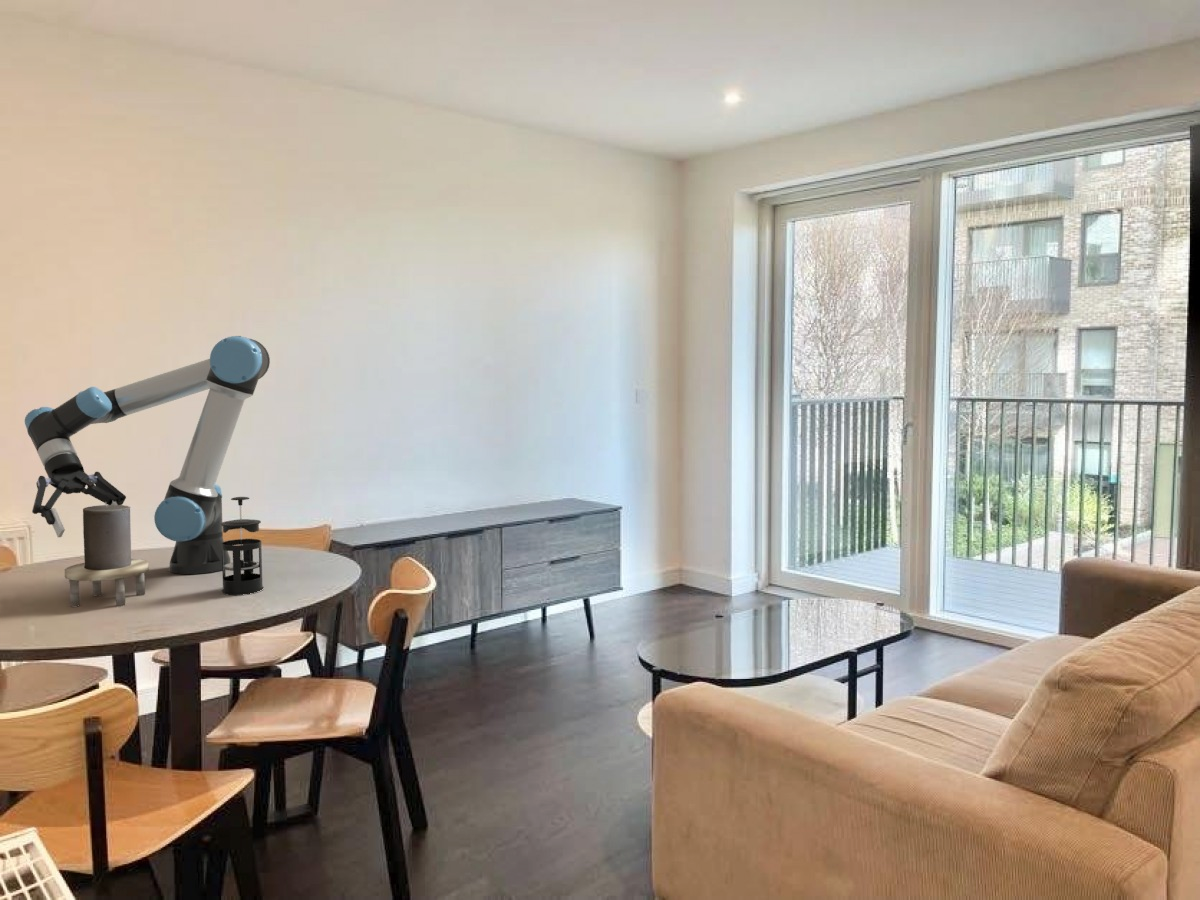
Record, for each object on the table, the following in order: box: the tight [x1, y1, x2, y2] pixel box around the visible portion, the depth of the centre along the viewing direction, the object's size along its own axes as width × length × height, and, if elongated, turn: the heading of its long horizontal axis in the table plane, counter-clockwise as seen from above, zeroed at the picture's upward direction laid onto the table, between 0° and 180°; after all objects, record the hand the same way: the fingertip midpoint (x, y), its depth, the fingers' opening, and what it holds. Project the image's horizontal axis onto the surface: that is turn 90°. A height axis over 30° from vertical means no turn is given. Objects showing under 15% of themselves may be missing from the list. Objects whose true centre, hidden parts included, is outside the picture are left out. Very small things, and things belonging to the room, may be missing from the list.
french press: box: [221, 496, 264, 596], centre depth 212 cm, size 12×9×23 cm
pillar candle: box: [82, 502, 132, 570], centre depth 202 cm, size 10×10×15 cm
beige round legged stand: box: [64, 558, 150, 607], centre depth 202 cm, size 17×17×8 cm
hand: (92, 529), depth 204 cm, fingers open, 13 cm apart
